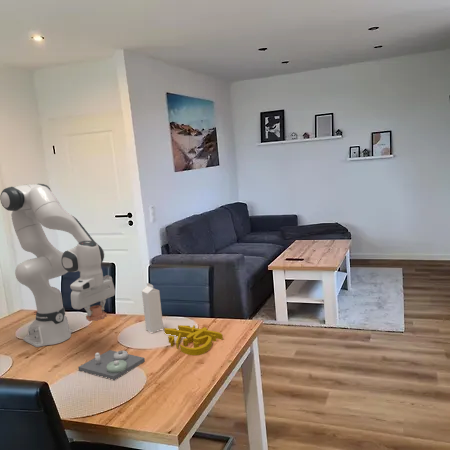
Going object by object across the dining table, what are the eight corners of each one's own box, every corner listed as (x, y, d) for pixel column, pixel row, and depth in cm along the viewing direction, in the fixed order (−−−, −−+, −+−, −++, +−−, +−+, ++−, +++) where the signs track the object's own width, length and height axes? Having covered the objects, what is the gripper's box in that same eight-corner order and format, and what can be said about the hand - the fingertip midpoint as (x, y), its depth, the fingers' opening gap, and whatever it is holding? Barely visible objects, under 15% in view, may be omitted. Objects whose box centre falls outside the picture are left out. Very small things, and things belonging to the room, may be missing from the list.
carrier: (78, 370, 164) (76, 355, 163) (110, 353, 177) (108, 339, 176) (114, 380, 154) (112, 364, 153) (145, 361, 167) (143, 347, 166)
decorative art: (197, 351, 167) (144, 337, 185) (197, 358, 167) (145, 343, 185) (229, 332, 183) (178, 321, 201) (229, 338, 184) (178, 327, 202)
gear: (82, 319, 177) (81, 309, 176) (97, 313, 184) (96, 303, 183) (95, 322, 173) (94, 311, 172) (110, 315, 179) (109, 305, 179)
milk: (151, 333, 195) (146, 286, 192) (145, 330, 200) (140, 284, 197) (163, 329, 199) (158, 283, 196) (157, 326, 204) (152, 281, 201)
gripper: (106, 273, 186) (109, 304, 188) (66, 286, 169) (70, 320, 171) (116, 274, 183) (119, 305, 185) (77, 287, 166) (81, 322, 168)
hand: (96, 312), depth 178 cm, fingers closed on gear, 5 cm apart
